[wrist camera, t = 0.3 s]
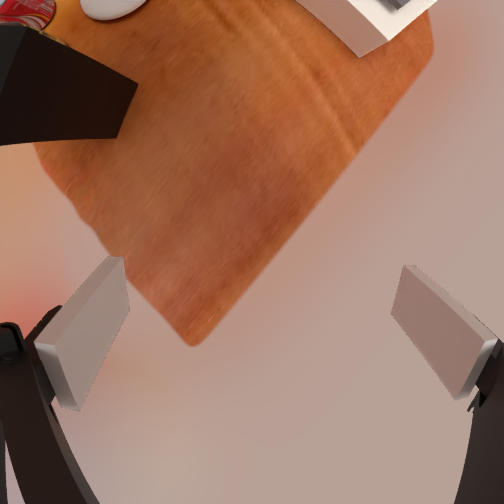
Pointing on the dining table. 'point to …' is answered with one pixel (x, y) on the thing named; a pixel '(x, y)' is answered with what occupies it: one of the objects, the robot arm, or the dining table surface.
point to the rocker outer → (398, 3)
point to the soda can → (27, 12)
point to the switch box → (365, 20)
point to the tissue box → (56, 91)
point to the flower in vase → (109, 8)
